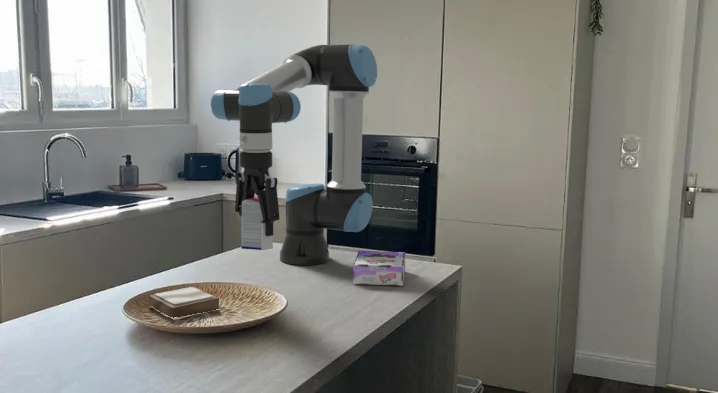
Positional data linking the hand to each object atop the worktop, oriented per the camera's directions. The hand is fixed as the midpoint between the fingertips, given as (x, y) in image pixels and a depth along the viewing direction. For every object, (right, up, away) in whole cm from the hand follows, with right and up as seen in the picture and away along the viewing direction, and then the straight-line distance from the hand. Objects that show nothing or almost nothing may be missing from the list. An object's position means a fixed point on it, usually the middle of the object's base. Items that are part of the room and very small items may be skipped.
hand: (256, 245), depth 171 cm
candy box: (+31, -7, +38) cm, 50 cm away
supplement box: (0, -1, 0) cm, 0 cm away
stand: (-18, -15, 0) cm, 23 cm away
